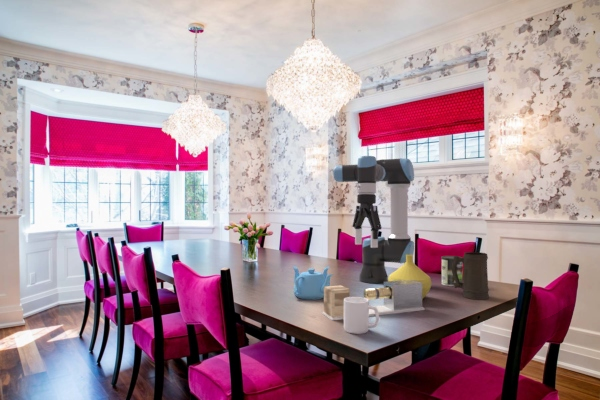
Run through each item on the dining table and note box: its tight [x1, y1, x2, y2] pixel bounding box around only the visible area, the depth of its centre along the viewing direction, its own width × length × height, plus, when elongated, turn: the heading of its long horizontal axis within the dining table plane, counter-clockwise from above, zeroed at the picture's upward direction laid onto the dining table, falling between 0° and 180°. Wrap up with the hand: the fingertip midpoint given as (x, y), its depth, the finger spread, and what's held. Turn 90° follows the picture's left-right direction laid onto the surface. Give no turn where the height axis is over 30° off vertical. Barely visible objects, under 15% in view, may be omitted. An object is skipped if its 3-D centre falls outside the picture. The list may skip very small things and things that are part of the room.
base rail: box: [321, 304, 425, 321], centre depth 154 cm, size 9×40×1 cm, turn 110°
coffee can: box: [441, 255, 463, 287], centre depth 204 cm, size 10×10×14 cm
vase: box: [387, 254, 432, 300], centre depth 175 cm, size 18×18×19 cm
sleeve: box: [383, 280, 423, 311], centre depth 158 cm, size 7×13×10 cm, turn 110°
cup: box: [343, 296, 380, 335], centre depth 131 cm, size 8×12×10 cm
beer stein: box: [452, 251, 490, 301], centre depth 178 cm, size 15×11×20 cm
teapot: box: [292, 265, 334, 301], centre depth 179 cm, size 17×19×12 cm
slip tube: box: [363, 287, 392, 301], centre depth 156 cm, size 20×4×4 cm, turn 110°
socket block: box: [323, 284, 350, 317], centre depth 148 cm, size 7×7×10 cm
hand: (365, 245), depth 162 cm, fingers open, 13 cm apart
